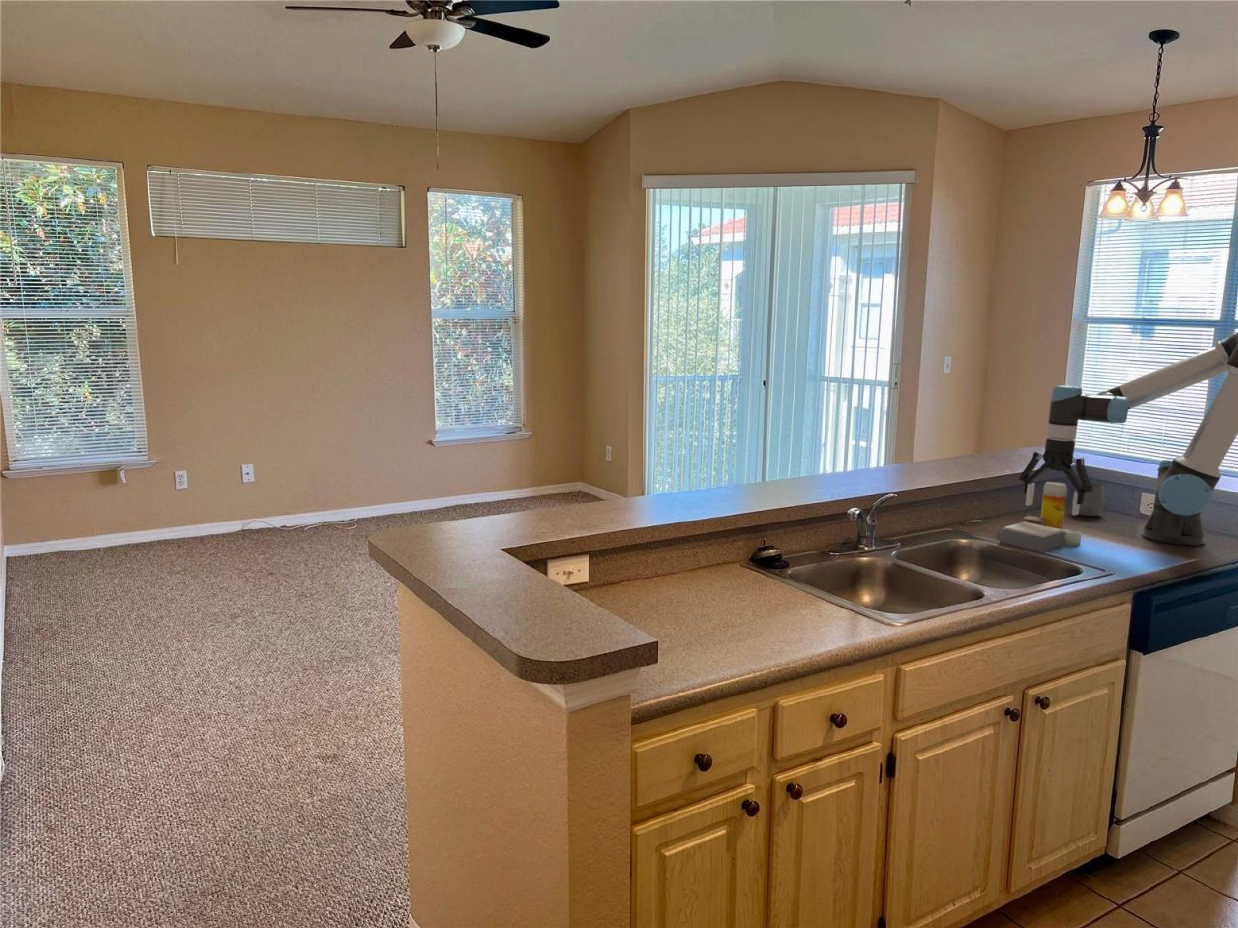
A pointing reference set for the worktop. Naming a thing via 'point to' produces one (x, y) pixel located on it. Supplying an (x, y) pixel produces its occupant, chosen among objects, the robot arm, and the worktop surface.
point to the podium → (1032, 536)
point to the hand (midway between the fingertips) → (1051, 509)
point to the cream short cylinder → (1072, 537)
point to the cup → (1092, 501)
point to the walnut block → (1034, 520)
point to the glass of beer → (1054, 504)
